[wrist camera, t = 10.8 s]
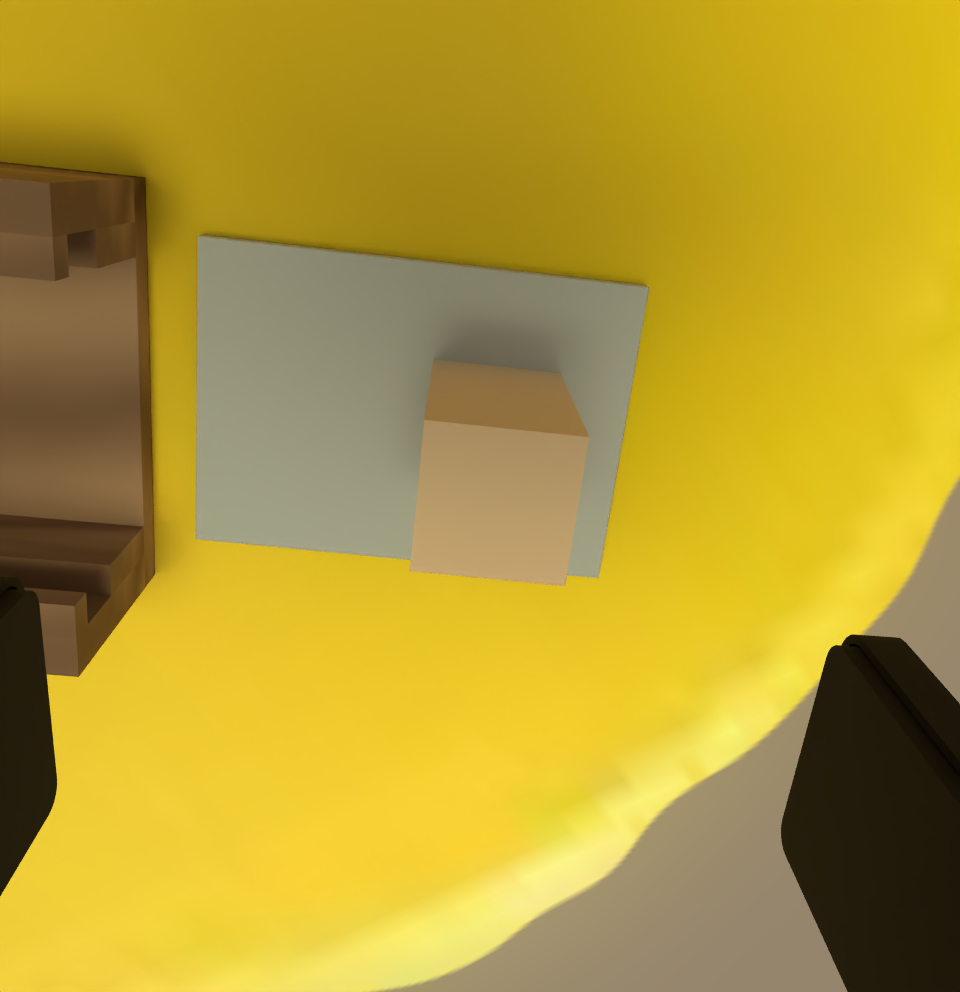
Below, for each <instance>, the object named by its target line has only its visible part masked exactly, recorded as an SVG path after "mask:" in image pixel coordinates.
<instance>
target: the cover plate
mask: <svg viewBox="0 0 960 992" xmlns="http://www.w3.org/2000/svg"><path fill="white" fill-rule="evenodd" d="M648 291H649V287H647V286H646V285H641V284H632V283H623V282H614V281H606V280H597V279H588V278H579V277H571V276H562V275H553V274H544V273H536V272H527V271H518V270H509V269H500V268H492V267H483V266H474V265H465V264H457V263H448V262H439V261H430V260H422V259H413V258H404V257H395V256H387V255H378V254H369V253H360V252H351V251H343V250H334V249H325V248H316V247H308V246H299V245H290V244H281V243H273V242H264V241H255V240H246V239H238V238H229V237H220V236H211V235H200V236H197V453H196V539H200V540H210V541H220V542H231V543H241V544H251V545H262V546H272V547H283V548H293V549H303V550H314V551H324V552H334V553H345V554H355V555H365V556H376V557H386V558H397V559H407V560H411V564H410V571H415V572H425V573H436V574H446V575H456V576H467V577H477V578H488V579H498V580H509V581H519V582H529V583H540V584H550V585H561V586H565V585H566V578H567V575H573V576H583V577H593V578H598V577H599V572H600V566H601V560H602V554H603V549H604V543H605V537H606V532H607V526H608V520H609V514H610V509H611V503H612V497H613V492H614V486H615V480H616V474H617V469H618V463H619V457H620V451H621V446H622V440H623V434H624V429H625V423H626V417H627V411H628V406H629V400H630V394H631V389H632V383H633V377H634V371H635V366H636V360H637V354H638V348H639V343H640V337H641V331H642V326H643V320H644V314H645V308H646V303H647V297H648Z"/></svg>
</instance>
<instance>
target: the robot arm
mask: <svg viewBox="0 0 960 992" xmlns="http://www.w3.org/2000/svg"><path fill="white" fill-rule="evenodd" d="M56 789H57V774H56V764H55V755H54V745H53V735H52V725H51V715H50V705H49V695H48V685H47V675H46V665H45V655H44V645H43V635H42V625H41V615H40V605H39V600H38V597H37V595H36V593H35V592H34V591H31V590H24V587H23V585H22V583H21V581H20V580H19V579H18V578H17V577H9V576H0V896H1V894H2V892H3V891H4V889H5V887H6V886H7V884H8V882H9V881H10V879H11V877H12V876H13V874H14V872H15V871H16V869H17V867H18V866H19V864H20V862H21V861H22V859H23V857H24V856H25V854H26V852H27V850H28V849H29V847H30V845H31V844H32V842H33V840H34V839H35V837H36V835H37V834H38V832H39V830H40V829H41V827H42V825H43V824H44V822H45V820H46V819H47V817H48V815H49V813H50V811H51V809H52V806H53V803H54V800H55V795H56ZM781 839H782V845H783V850H784V852H785V855H786V857H787V860H788V862H789V864H790V866H791V868H792V870H793V872H794V875H795V877H796V879H797V882H798V884H799V886H800V888H801V890H802V893H803V895H804V897H805V899H806V901H807V903H808V906H809V908H810V910H811V912H812V915H813V917H814V919H815V921H816V923H817V925H818V928H819V929H820V932H821V934H822V936H823V938H824V941H825V943H826V945H827V947H828V950H829V952H830V954H831V956H832V958H833V960H834V963H835V965H836V967H837V969H838V972H839V974H840V976H841V978H842V980H843V983H844V984H845V987H846V989H847V991H848V992H960V704H959V702H958V701H957V700H956V699H955V698H954V697H953V696H952V695H951V694H950V692H949V691H948V690H947V689H946V688H945V687H944V686H943V684H942V683H941V682H940V681H939V680H938V679H937V677H936V676H935V675H934V674H933V673H932V672H931V671H930V670H929V669H928V667H927V666H926V665H925V664H924V663H923V662H922V661H921V659H920V658H919V657H918V656H917V655H916V654H915V653H914V651H913V650H912V649H911V648H910V647H909V646H908V645H907V643H906V642H904V641H903V640H902V639H901V638H895V637H894V638H893V637H881V636H866V635H850V636H848V637H847V638H846V639H845V640H844V642H843V643H842V646H839V645H835V646H833V647H832V648H831V649H830V650H829V652H828V655H827V657H826V661H825V664H824V668H823V672H822V675H821V679H820V683H819V686H818V690H817V694H816V698H815V701H814V705H813V709H812V712H811V716H810V720H809V723H808V727H807V731H806V735H805V738H804V742H803V746H802V749H801V753H800V756H799V760H798V764H797V768H796V771H795V775H794V779H793V783H792V786H791V790H790V793H789V797H788V801H787V804H786V809H785V812H784V816H783V819H782V825H781Z"/></svg>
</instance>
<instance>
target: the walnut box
mask: <svg viewBox="0 0 960 992" xmlns="http://www.w3.org/2000/svg"><path fill="white" fill-rule="evenodd" d="M154 575H155V560H154V519H153V478H152V437H151V396H150V354H149V313H148V272H147V231H146V190H145V177H136V176H127V175H117V174H108V173H99V172H89V171H80V170H70V169H61V168H52V167H42V166H33V165H23V164H14V163H5V162H0V576H9V577H17V578H18V579H19V580H20V581H21V583H22V585H23V587H24V590H31V591H34V592H35V593H36V595H37V597H38V600H39V605H40V615H41V625H42V635H43V645H44V655H45V665H46V674H49V675H62V676H75V677H79V676H80V674H81V673H82V672H83V670H84V669H85V668H86V666H87V665H88V664H89V662H90V661H91V660H92V658H93V657H94V656H95V654H96V653H97V651H98V650H99V649H100V647H101V646H102V645H103V643H104V642H105V641H106V639H107V638H108V637H109V635H110V634H111V633H112V631H113V630H114V629H115V627H116V626H117V625H118V623H119V622H120V621H121V619H122V618H123V617H124V615H125V614H126V612H127V611H128V610H129V608H130V607H131V606H132V604H133V603H134V602H135V600H136V599H137V598H138V596H139V595H140V594H141V592H142V591H143V590H144V588H145V587H146V586H147V584H148V583H149V582H150V580H151V579H152V578H153V576H154Z"/></svg>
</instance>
